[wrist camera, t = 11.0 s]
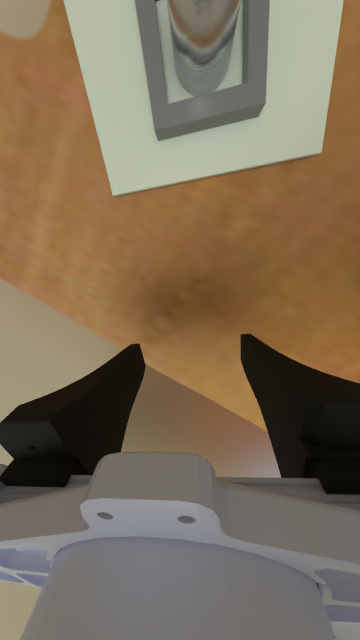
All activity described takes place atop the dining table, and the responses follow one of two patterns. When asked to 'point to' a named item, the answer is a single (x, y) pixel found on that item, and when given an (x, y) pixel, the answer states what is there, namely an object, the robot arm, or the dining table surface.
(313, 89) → the socket
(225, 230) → the dining table surface
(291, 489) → the robot arm
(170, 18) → the key peg
